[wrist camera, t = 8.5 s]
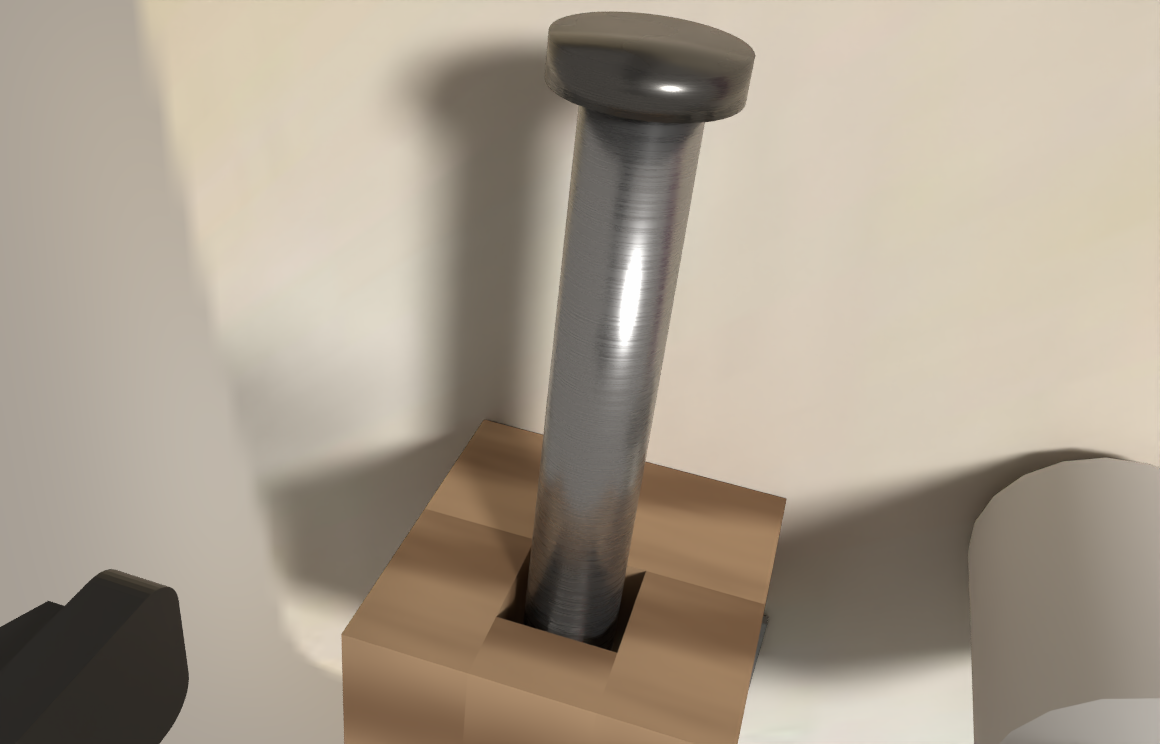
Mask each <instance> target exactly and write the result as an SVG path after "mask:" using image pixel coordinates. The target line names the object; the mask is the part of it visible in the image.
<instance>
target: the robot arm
mask: <svg viewBox="0 0 1160 744" xmlns="http://www.w3.org/2000/svg"><path fill="white" fill-rule="evenodd" d="M188 680H189V673H188V666H187V659H186V651H185V644H184V637H183V629H182V622H181V614H180V608H179V600H178V596H177V594H176V592H175V590H174V589H172V588H170V587H167V586H165V585H161V584H158V583H155V582H152V581H149V580H146V579H143V578H139V577H136V576H133V575H130V574H127V573H124V572H121V571H118V570H113V569H109V570H105V571H103V572H101V573H99V574H98V575H96V576H95V577H94V578H93V579H91V580H90V581H89V582H88V583H87V584H86V585H85V586H84V587H83V588H82V589H81V590H80V591H79V592H78V593H77V594H76V595H75V596H74V597H73V598H72V599H71V600H70V601H69V602H68V603H67V604H66V605H65V606H63V605H59V604H56V603H53V602H50V601H48V602H45V603H44V604H42V605H40V606H38V607H36V608H34V609H33V610H31V611H29V612H27V613H25V614H23V615H22V616H20V617H18V618H16V619H14V620H13V621H11V622H9V623H7V624H5V625H3V626H1V627H0V744H159V743H160V742H161V741H162V740H163V738H164V737H165V736H166V734H167V733H168V731H169V730H170V728H171V727H172V725H173V724H174V722H175V721H176V719H177V717H178V715H179V713H180V711H181V708H182V706H183V703H184V700H185V697H186V693H187V689H188V682H189V681H188Z"/></svg>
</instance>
